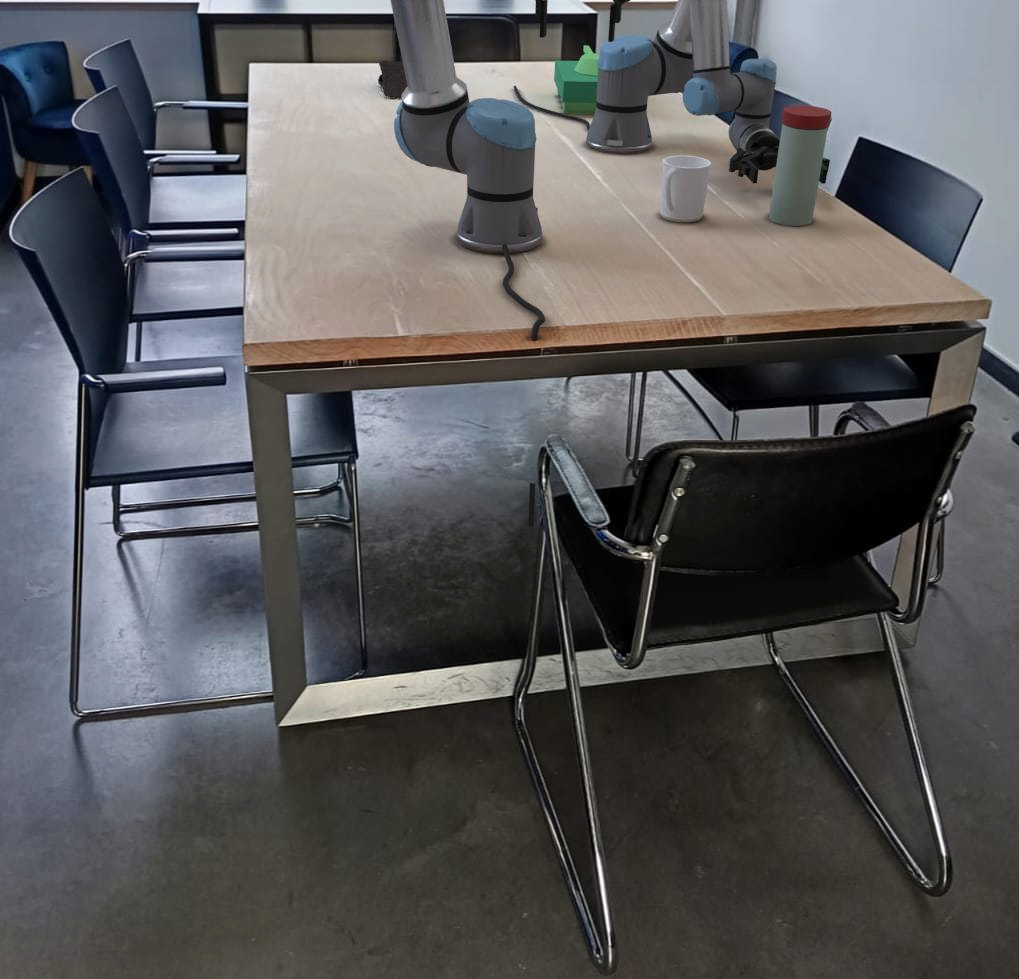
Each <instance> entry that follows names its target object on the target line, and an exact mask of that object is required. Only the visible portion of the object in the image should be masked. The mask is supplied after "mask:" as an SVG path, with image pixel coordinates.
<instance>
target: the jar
mask: <svg viewBox="0 0 1019 979" xmlns="http://www.w3.org/2000/svg"><path fill="white" fill-rule="evenodd" d="M781 124H782V125H781V132H780V137H779V138H780V144H779V151H778V157H777V164H776V167H775V172H774V177H773V178H774V179H773V185H772V186H773V187H772V193H771V199H770V200H771V201H770V205H769V212H768V219H769V221H771V222H773V223H775V224H779V225H783V226H788V227H789V226H791V227H803V226H807V225H810V224H811V223H813V219H814V212H815V207H816V201H817V197H818V196H817V194H818V189H819V183H820V182H819V178H820V172H821V166H822V160H823V158H824V153H825V147H826V142H827V137H828V136H827V135H828V129H829V127H827V128H823V129H801V128H795V127H790V126H787V125H784V124H783V123H782V122H781Z"/></svg>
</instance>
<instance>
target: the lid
mask: <svg viewBox="0 0 1019 979" xmlns="http://www.w3.org/2000/svg"><path fill="white" fill-rule="evenodd" d="M832 114H833V112H832V111H831V110H829V109H827V108H824V107H820V106H814V105H788V106H785V107H783V110H782V115H781V124H782V123H783V124H784V125H787V126H790V127H795V128H801V129H823V128H827V127H828V128H829V127H830V125H831V118H832Z"/></svg>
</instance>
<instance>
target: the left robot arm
mask: <svg viewBox="0 0 1019 979" xmlns="http://www.w3.org/2000/svg"><path fill="white" fill-rule="evenodd" d="M548 1H549V0H535V7H534V8H535V14H534V15H535V19H539V38H540V39H541V38H543V39H544V38H545V37H546V36H547V26H548V25H547V23H548ZM630 1H631V0H612V2H613V3H612V4H610V9H609V21H608V22H609V23H608V38H607V40H608V42H613V41H614V37H615V35H616V34H615V32H616V24H619V23H620V22H621V21H622V10H623V5H624V4H626V3H629V2H630ZM390 6H391V10H392V15H393V20H394V25H395V29H396V35H397V39H398V45H399V49H400V54H401V60H402V62H403V65H404V70H405V75H406V80H407V85H408V86H407V88H406V89H405V90H404V92H403V93H402V96H401V98H400V99H401V102H400V103H399V104H398V106H397V109H396V111H395V113H396V115H397V116H396V117H395V118H394V120H393V130H394V137H395V140H396V142H397V144H398V147H399V149H400V150H401V151H402V153H403V154H404V155H405V156H406V157H407V158H409V159H410V160H412V161H414V162H417V163H419V164H422V165H424V166H425V167H430V168H438V169H442V170H446V171H450V172H454V173H458V174H461V175H466V192H467V193H466V198H465V202H464V205H463V209H462V211H461V214H460V218H459V220H458V224H457V228H456V241H457V243H458V244H459V245H461V246H462V247H464V248H466V249H468V250H470V251H475V252H479V253H486V254H497V255H499V254H500V255H504V258H505V262H506V264H507V268H508V270H507V272H506V274H505V276H504V277H503V279H502V287H503V288H504V291H505V292H506V293H507V294H508V295H509V297H511V298H512V299H513V300H514V301H516V302H517V303H518V304H519V306H521V307H523V308H524V309H527V310H528V311H530V312H532V314H534V315H536V316H537V320H536V321H535V322H534V323H533V325H532V328H531V336H530V338H531V339H530V340H531V341H532V342H537V341H538V336H539V335H538V334H539V330H540V327H541V326H542V325H543V324H544V323H545V321H546V317H545V314H544V313H543V312H542V310H540V309H539V308H538V307H537V306H535V305H533V304H532V303H530V302H528V301H527V300H525V299H524V298H522V297H521V295H519V294H518V293H517V292H516V291H515V290H514V289H512V287H511V286H510V284H509V281H510V280H511V278H512V277H513V275H514V271H515V265H514V262H513V259H512V256H511V254H517V253H524V252H527V251H530V250H533V249H536V248H538V247H539V246H540V245H541V244H542V243H543V229H542V224H541V221H540V220H541V219H540V218H539V214H538V213H539V212H538V211H539V209H538V207H537V206H536V204H535V199H534V183H535V181H534V180H535V161H536V160H535V158H536V143H537V134H536V120H535V115H534V114H533V113H532V111H531V110H530V108H527V107H526V106H524V105H522V104H520V103H518V102H515V101H512V100H508V99H504V98H503V99H498V98H496V97H495V98H493V97H482V98H476V99H474V100H471V101H470V98H469V92H468V85H467V83H466V82H464V81H463V80H461V78H459V77H457V73H456V66H455V60H454V54H453V48H452V43H451V42H452V41H451V36H450V30H449V25H448V19H447V13H446V7H445V6H446V5H445V2H444V0H390ZM528 495H529V496H528V520H527V521H528V524H527V525H528V527H532V528H533V527H535V509H536V508H535V507H536V504H535V503H536V483H535V482H529V494H528Z"/></svg>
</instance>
